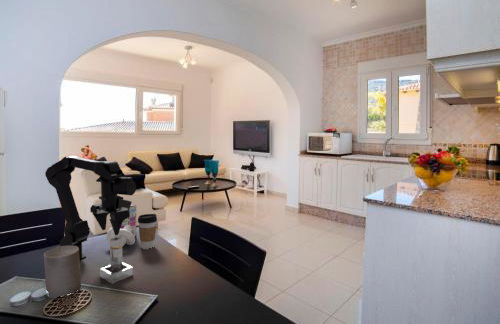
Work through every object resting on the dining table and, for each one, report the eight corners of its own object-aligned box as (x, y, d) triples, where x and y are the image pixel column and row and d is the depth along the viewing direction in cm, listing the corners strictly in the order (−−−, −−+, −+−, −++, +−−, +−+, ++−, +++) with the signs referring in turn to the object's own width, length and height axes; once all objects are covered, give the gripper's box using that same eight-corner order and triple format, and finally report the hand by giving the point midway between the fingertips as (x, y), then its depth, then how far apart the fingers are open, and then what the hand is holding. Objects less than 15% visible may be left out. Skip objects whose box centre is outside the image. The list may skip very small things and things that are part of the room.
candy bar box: (137, 236, 148) (136, 205, 146) (129, 239, 143) (128, 207, 142) (122, 232, 153) (121, 202, 152) (113, 235, 149) (113, 204, 147)
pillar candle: (74, 280, 102) (72, 239, 101) (85, 290, 96) (83, 246, 95) (41, 292, 95) (38, 247, 93) (51, 303, 89) (49, 255, 87)
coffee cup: (153, 250, 130) (153, 218, 129) (134, 250, 130) (134, 217, 129) (159, 243, 139) (159, 213, 137) (142, 243, 139) (141, 212, 138)
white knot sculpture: (111, 253, 127) (111, 233, 126) (103, 245, 136) (102, 226, 135) (137, 246, 134) (137, 228, 134) (127, 239, 143) (127, 222, 143)
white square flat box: (100, 276, 105) (99, 268, 105) (120, 269, 112) (120, 261, 112) (112, 283, 101) (112, 275, 101) (133, 275, 107) (132, 266, 107)
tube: (109, 273, 107) (108, 238, 105) (120, 270, 109) (120, 236, 108) (112, 277, 103) (111, 242, 102) (124, 274, 106) (123, 239, 105)
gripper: (141, 193, 115) (142, 232, 116) (115, 187, 125) (116, 223, 127) (115, 198, 106) (115, 239, 107) (89, 191, 116) (90, 229, 118)
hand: (110, 232), depth 115 cm, fingers open, 9 cm apart
